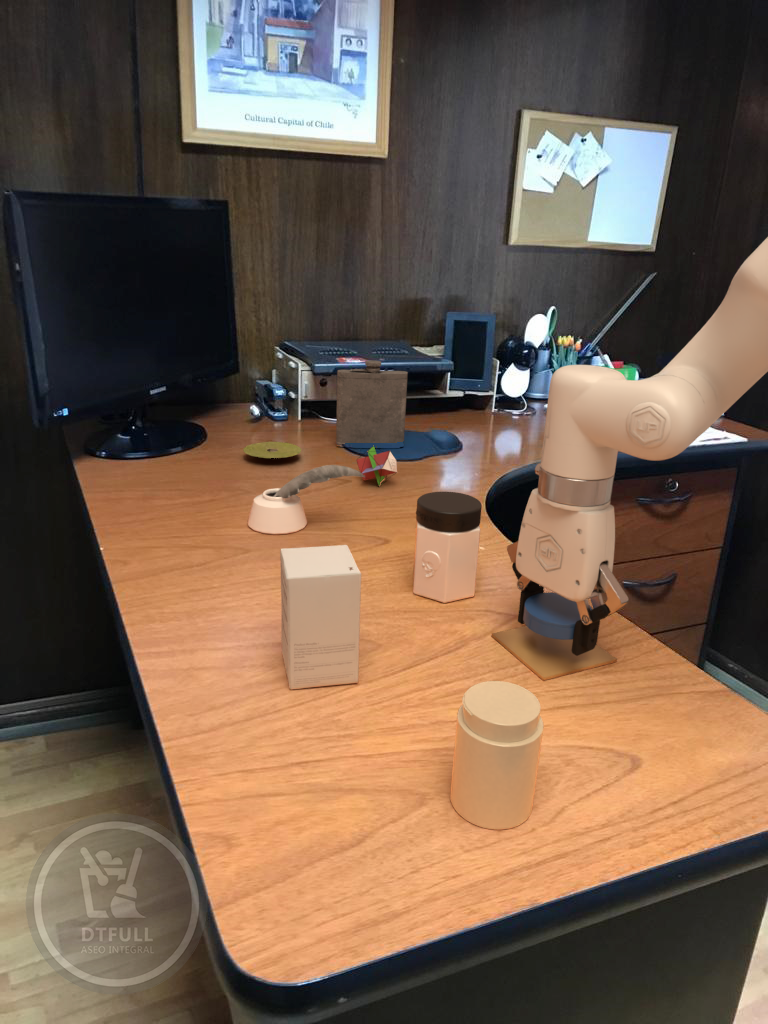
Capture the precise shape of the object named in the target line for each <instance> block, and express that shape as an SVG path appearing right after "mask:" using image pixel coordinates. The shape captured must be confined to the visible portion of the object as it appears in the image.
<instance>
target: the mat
mask: <svg viewBox="0 0 768 1024" xmlns="http://www.w3.org/2000/svg"><path fill="white" fill-rule="evenodd" d="M242 451H243V452H244V454H246V455H248V456H251V457H256V458H257V457H258V458H263V459H271V458H274V459H275V458H276V459H277V458H278V459H281V458H289V457H290V458H291V457H293V456H297V455H299V454H301V453H302V448H301V447H300V446H298V445H296V444H294V443H290V442H283V441H263V442H254V443H251V444H248V445H246V446H245V447H243V449H242Z"/></svg>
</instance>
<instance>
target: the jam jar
mask: <svg viewBox="0 0 768 1024" xmlns="http://www.w3.org/2000/svg"><path fill="white" fill-rule="evenodd" d="M461 700H462V701H461V703H462V704H461V705H460V707H459V708H458V710H457V714H456V725H455V726H456V727H455V737H454V746H453V747H454V748H453V758H452V768H451V769H452V771H451V779H450V780H451V782H450V791H449V794H450V795H449V799H450V802H451V805H452V807H453V809H454V810H455V812H456V813H457V814H458V815H459V816H460V817H461V818H462V819H464V820H465V821H467V822H468V823H470V824H472V825H475V826H476V827H480V828H483V829H488V830H495V831H497V830H498V831H501V830H510V829H513V828H516V827H519V826H520V825H522V824H524V823H525V822H526V821H527V820H528V819H529V818H530V816H531V815H532V812H533V808H534V807H533V806H534V800H535V793H536V786H537V780H538V779H537V778H538V771H539V765H540V764H539V763H540V756H541V748H542V743H543V734H544V728H545V727H544V721H543V717H542V716H541V711H542V707H541V702H540V700H539V698H538V697H537V696H536V695H535V694H534V693H533V692H532V691H531V690H530V689H527V688H525V687H524V686H522V685H519V684H516V683H513V682H509V681H504V680H488V681H487V680H486V681H481V682H478V683H476V684H473V685H472V686H471V687H469V688H468V689H467V690H466V691H465V692H464V694H463V696H462V698H461Z"/></svg>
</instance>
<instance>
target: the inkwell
mask: <svg viewBox="0 0 768 1024" xmlns="http://www.w3.org/2000/svg"><path fill="white" fill-rule="evenodd" d="M342 477H343V478H344V477H360V478H362V477H365V476H364V475H363V474H362V473H361V472H360V470H357V469H355V468H353V467H350V466H346V465H337V464H326V465H322V466H319V467H313V468H312V469H309V470H307V471H305V472H302V473H300V474H299V475H296V476H295V477H293V478H292V479H290V480H289V481H288V482H286V483H285V484H283V486H281V487H276V488H275V487H274V488H268V489H265V490H264V491H263V492H262V493H261V494H258V495H256V496H255V497H254V498H253V500H252V503H251V507H250V510H249V514H248V517H247V526H248V527H249V528H250V529H251V530H252V531H254V532H257V533H261V534H266V535H288V534H292V533H297V532H299V531H301V530H303V529H305V527H306V526H307V525H308V519H307V515H306V512H305V509H304V506H303V501H302V498H301V497H300V496H299V495H298V494H300V493H301V490H305V489H307V488H309V487H310V486H312V484H320V483H325V482H328V481H330V479H338V478H342Z"/></svg>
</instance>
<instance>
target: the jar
mask: <svg viewBox="0 0 768 1024" xmlns="http://www.w3.org/2000/svg"><path fill="white" fill-rule="evenodd" d="M481 518H482V502H481V500H479V499H478V498H476V497H475V496H472V495H469V494H466V493H462V492H457V491H431V492H428V493H424V494H421V495H420V496H419V497H418V498H417V499H416V509H415V519H416V520H415V535H414V536H415V537H414V551H413V554H414V556H413V569H412V570H413V571H412V592H413V595H417V596H420V597H423V598H426V599H430V600H433V601H436V602H440V603H443V604H445V603H451V602H456V601H459V600H464V599H468V598H469V599H470V598H473V597H474V596H475V593H476V583H477V571H478V560H479V551H480V550H479V549H480V538H481V526H480V525H481Z"/></svg>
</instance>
